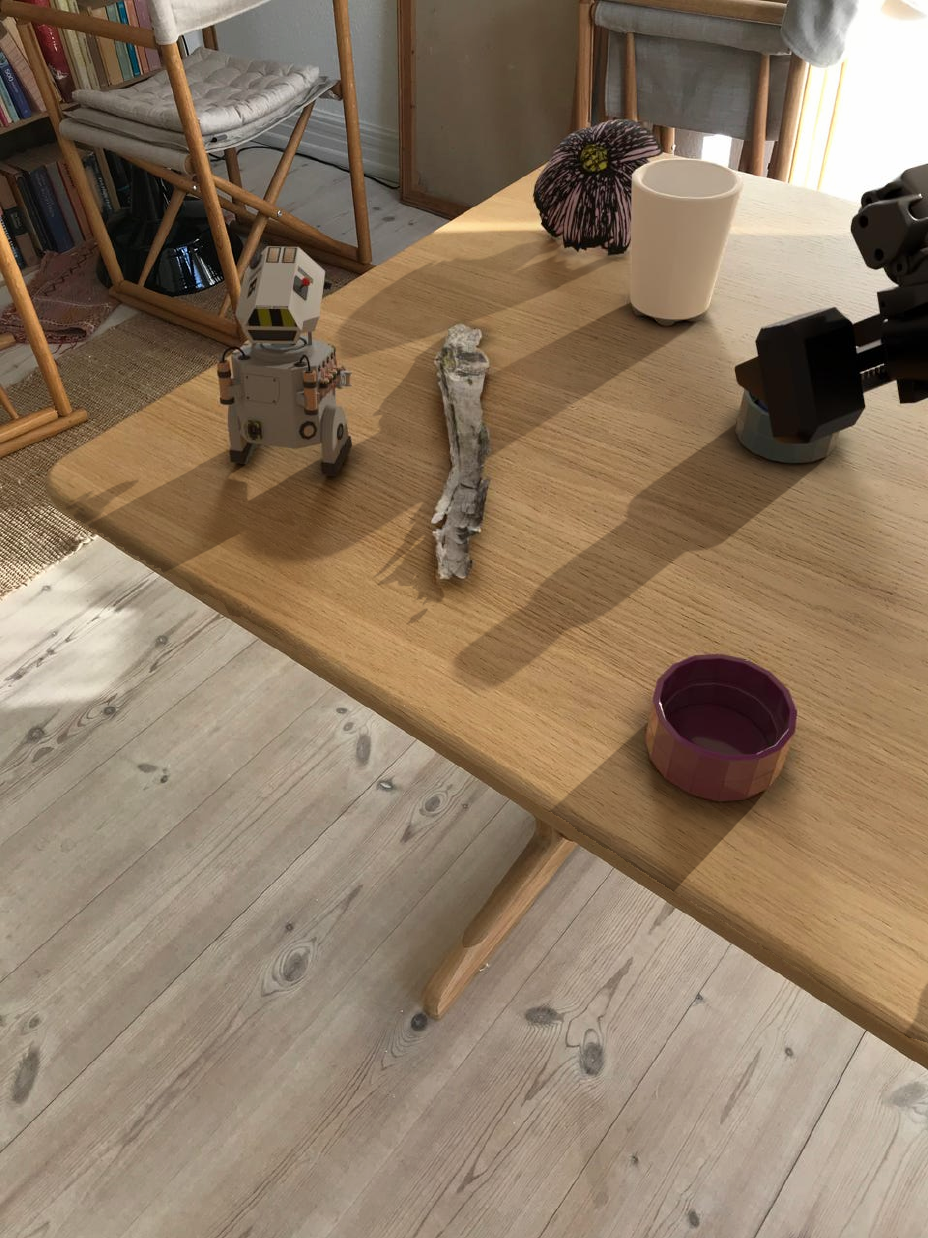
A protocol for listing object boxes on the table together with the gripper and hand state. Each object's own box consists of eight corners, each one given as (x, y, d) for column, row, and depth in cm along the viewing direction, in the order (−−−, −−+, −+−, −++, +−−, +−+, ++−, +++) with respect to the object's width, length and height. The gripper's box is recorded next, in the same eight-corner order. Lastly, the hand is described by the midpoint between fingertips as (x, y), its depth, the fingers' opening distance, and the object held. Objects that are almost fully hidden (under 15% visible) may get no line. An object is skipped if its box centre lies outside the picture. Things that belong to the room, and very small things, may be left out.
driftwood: (492, 328, 97) (441, 333, 97) (490, 304, 95) (438, 308, 96) (492, 582, 70) (422, 586, 71) (489, 554, 69) (417, 559, 69)
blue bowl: (837, 419, 85) (849, 378, 82) (831, 473, 80) (844, 430, 77) (741, 404, 87) (750, 362, 84) (729, 455, 81) (738, 413, 79)
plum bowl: (787, 715, 62) (802, 671, 59) (774, 819, 57) (790, 776, 54) (658, 685, 64) (667, 641, 61) (633, 783, 58) (642, 740, 56)
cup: (722, 292, 102) (746, 162, 93) (715, 339, 95) (740, 204, 86) (624, 281, 103) (638, 153, 94) (610, 327, 97) (624, 193, 88)
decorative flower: (502, 146, 104) (599, 70, 108) (500, 228, 115) (589, 157, 119) (607, 222, 100) (704, 140, 104) (595, 300, 111) (683, 224, 115)
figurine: (373, 412, 86) (359, 242, 76) (330, 492, 78) (308, 314, 68) (273, 400, 88) (246, 231, 77) (221, 476, 80) (183, 300, 69)
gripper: (1137, 111, 49) (881, 186, 63) (866, 191, 42) (645, 255, 56) (1154, 338, 52) (906, 362, 66) (903, 446, 46) (686, 447, 60)
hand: (794, 353), depth 62 cm, fingers open, 9 cm apart
